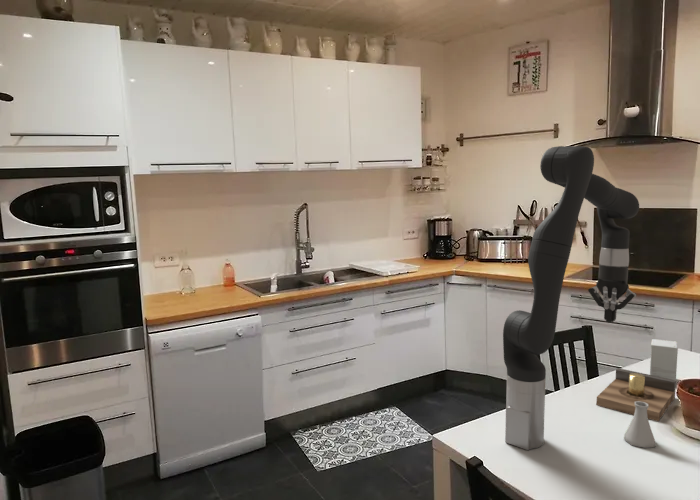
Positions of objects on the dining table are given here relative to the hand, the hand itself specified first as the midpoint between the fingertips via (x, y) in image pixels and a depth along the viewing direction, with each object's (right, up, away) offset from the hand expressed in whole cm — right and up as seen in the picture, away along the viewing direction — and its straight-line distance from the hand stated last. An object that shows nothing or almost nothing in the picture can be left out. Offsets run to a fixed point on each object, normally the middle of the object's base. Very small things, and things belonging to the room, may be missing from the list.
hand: (609, 321), depth 149 cm
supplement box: (+26, -22, +18) cm, 38 cm away
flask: (-3, -28, -20) cm, 34 cm away
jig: (+9, -24, +2) cm, 26 cm away
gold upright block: (+9, -24, +2) cm, 26 cm away
